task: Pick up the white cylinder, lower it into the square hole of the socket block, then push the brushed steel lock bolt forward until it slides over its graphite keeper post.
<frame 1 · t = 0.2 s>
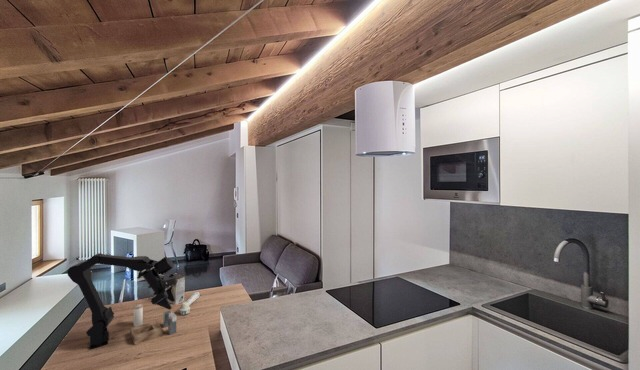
hand: (172, 305, 137), 15 cm above the table, tool tilted 30°, fingers open, 9 cm apart
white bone: (190, 306, 169), on the table
bolt mount: (168, 327, 143), on the table
white cylinder: (138, 324, 146), on the table
coffee box: (175, 301, 174), on the table
lock bolt: (172, 316, 138), point 8 cm above the table, slide at 0.0 cm
socket block: (146, 334, 137), on the table
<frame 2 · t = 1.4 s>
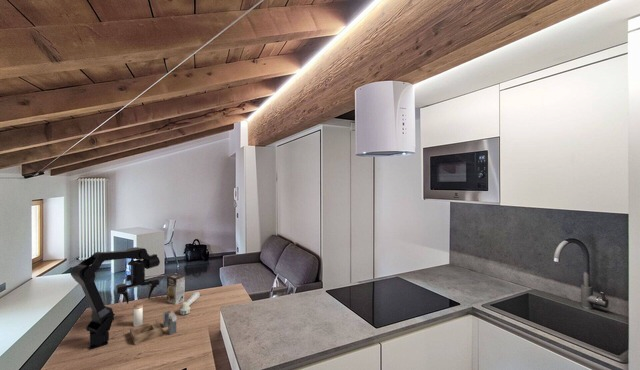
hand: (138, 301, 146), 12 cm above the table, tool pointing down, fingers open, 9 cm apart
nothing on the table moved.
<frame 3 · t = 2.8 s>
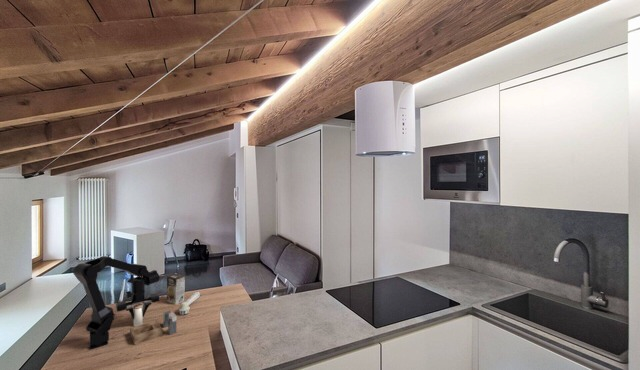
hand: (138, 317, 146), 4 cm above the table, tool pointing down, fingers closed on white cylinder, 4 cm apart
white cylinder: (138, 324, 146), on the table, touching gripper
everything else where it was.
when the fingers open (4 cm above the table, at t = 7.3 s): white cylinder stays where it is, resting in socket block.
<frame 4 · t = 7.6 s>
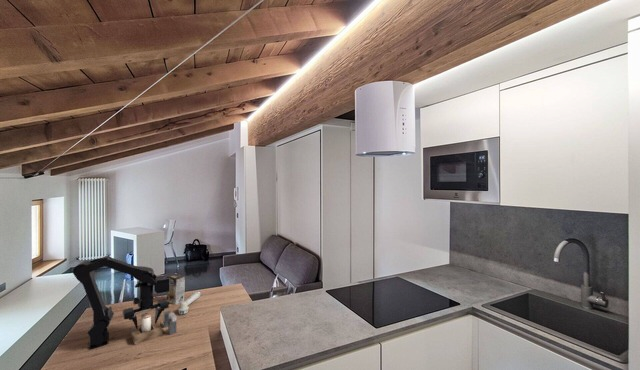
hand: (146, 325, 137), 4 cm above the table, tool pointing down, fingers open, 8 cm apart
white cylinder: (146, 335, 137), resting in socket block
everything else where it was.
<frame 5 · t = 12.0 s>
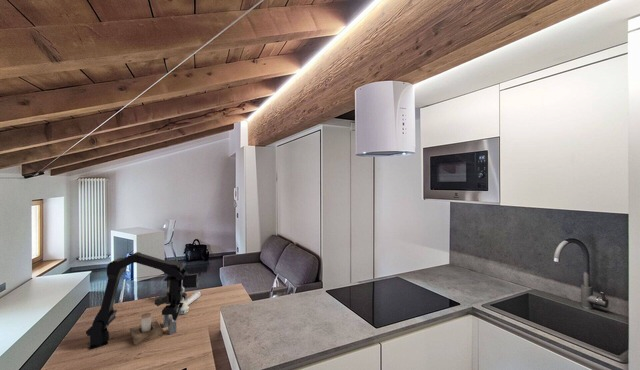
hand: (174, 320, 135), 8 cm above the table, tool pointing down, fingers closed
lock bolt: (172, 316, 138), point 8 cm above the table, slide at 0.1 cm, touching gripper
everything else where it was.
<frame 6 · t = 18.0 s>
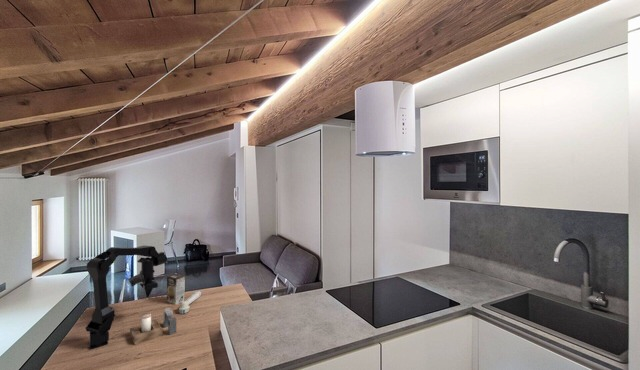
hand: (147, 296, 152), 12 cm above the table, tool pointing down, fingers closed
lock bolt: (168, 311, 143), point 8 cm above the table, slide at 7.0 cm
at the end: white cylinder 0.0 cm off-centre on the socket block, point 0.0 cm above the socket block's base; white cylinder tilted 0°; lock bolt slide at 7.0 cm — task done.
